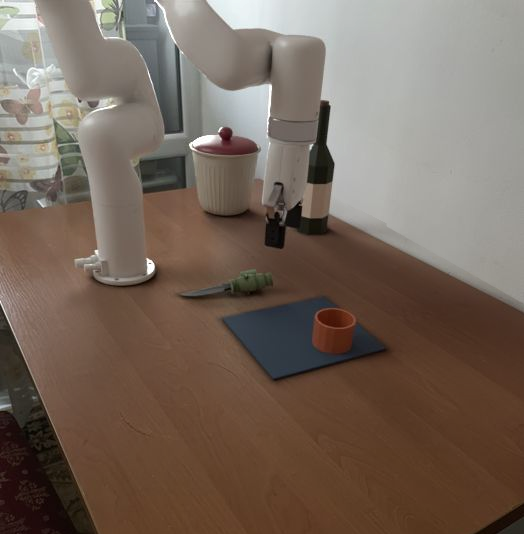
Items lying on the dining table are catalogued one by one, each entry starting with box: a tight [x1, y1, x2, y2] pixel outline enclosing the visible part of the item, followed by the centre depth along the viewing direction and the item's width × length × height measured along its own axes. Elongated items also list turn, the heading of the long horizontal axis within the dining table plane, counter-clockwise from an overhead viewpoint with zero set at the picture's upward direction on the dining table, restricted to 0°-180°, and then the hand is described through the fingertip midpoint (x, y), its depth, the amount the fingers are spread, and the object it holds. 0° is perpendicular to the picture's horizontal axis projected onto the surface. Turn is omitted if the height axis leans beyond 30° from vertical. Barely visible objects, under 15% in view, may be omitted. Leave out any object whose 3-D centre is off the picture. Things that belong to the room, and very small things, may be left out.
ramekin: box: [312, 307, 357, 354], centre depth 93 cm, size 7×7×5 cm
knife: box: [179, 268, 274, 298], centre depth 107 cm, size 4×18×5 cm
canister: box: [189, 126, 262, 216], centre depth 142 cm, size 18×18×21 cm
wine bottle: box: [294, 99, 336, 235], centre depth 131 cm, size 8×8×30 cm
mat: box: [221, 296, 387, 381], centre depth 97 cm, size 22×20×1 cm
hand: (282, 236), depth 92 cm, fingers open, 9 cm apart
